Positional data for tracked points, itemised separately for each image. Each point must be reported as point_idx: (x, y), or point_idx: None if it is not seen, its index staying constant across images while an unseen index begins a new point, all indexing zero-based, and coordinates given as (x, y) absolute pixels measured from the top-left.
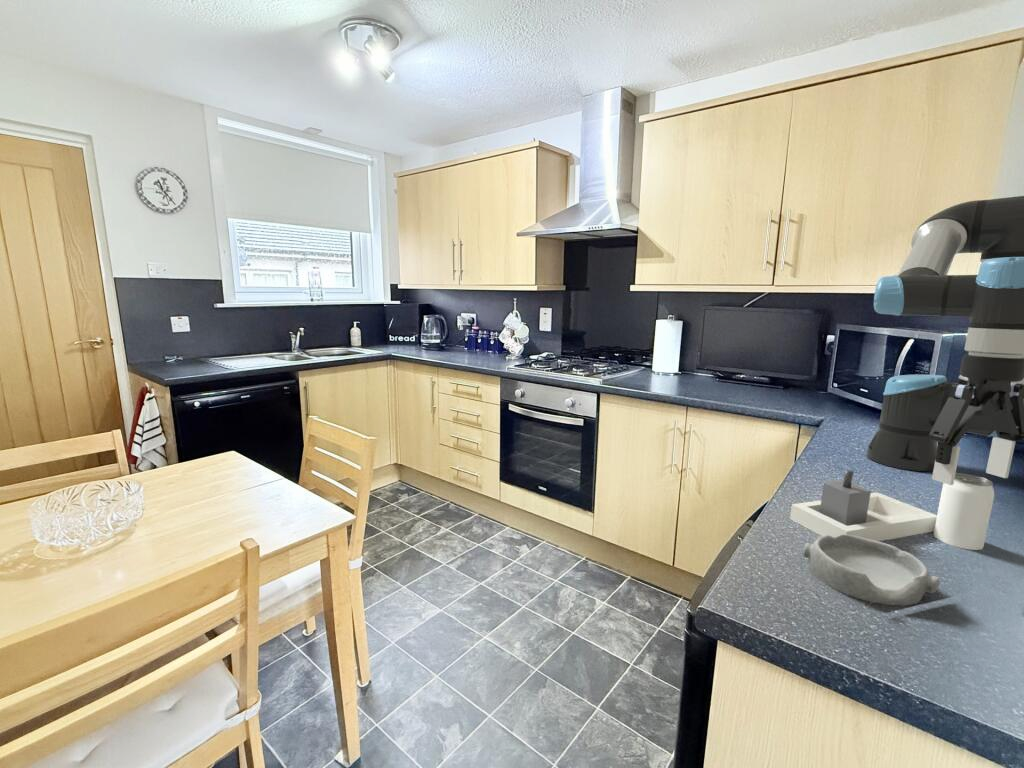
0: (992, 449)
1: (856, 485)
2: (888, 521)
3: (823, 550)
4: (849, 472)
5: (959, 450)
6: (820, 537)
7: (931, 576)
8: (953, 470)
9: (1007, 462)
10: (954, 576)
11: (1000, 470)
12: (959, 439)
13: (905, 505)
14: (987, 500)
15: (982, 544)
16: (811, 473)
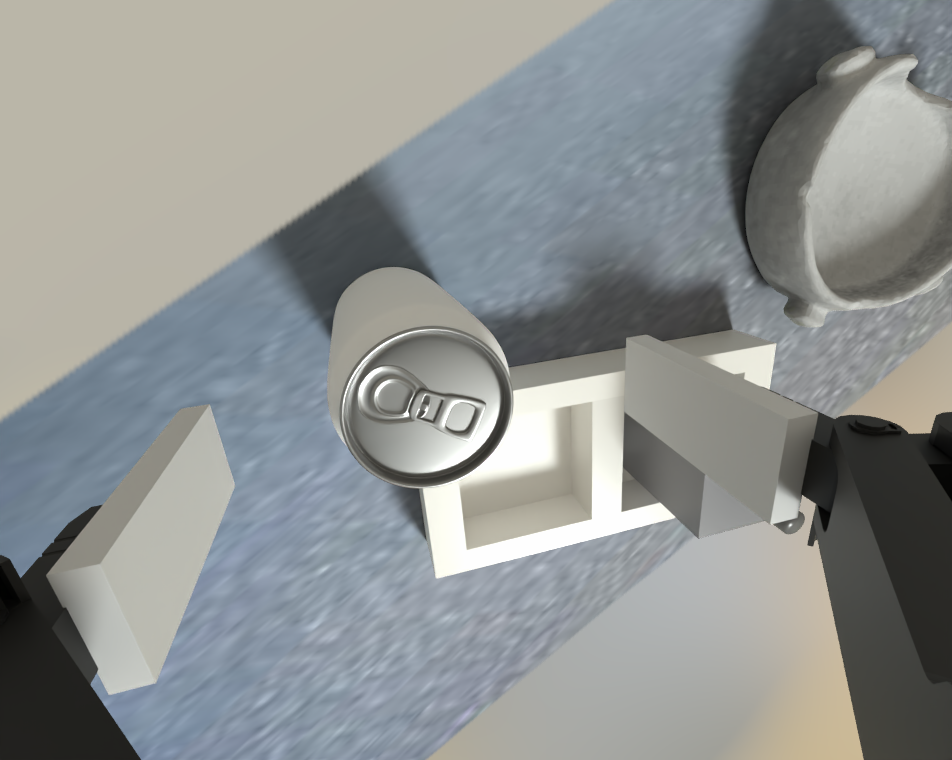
0: (188, 584)
1: (705, 498)
2: (612, 386)
3: (877, 281)
4: (801, 513)
5: (766, 407)
6: (912, 295)
7: (864, 65)
8: (690, 357)
9: (178, 455)
10: (603, 169)
11: (208, 446)
12: (855, 448)
13: (442, 486)
14: (424, 298)
15: (379, 271)
16: (394, 752)
